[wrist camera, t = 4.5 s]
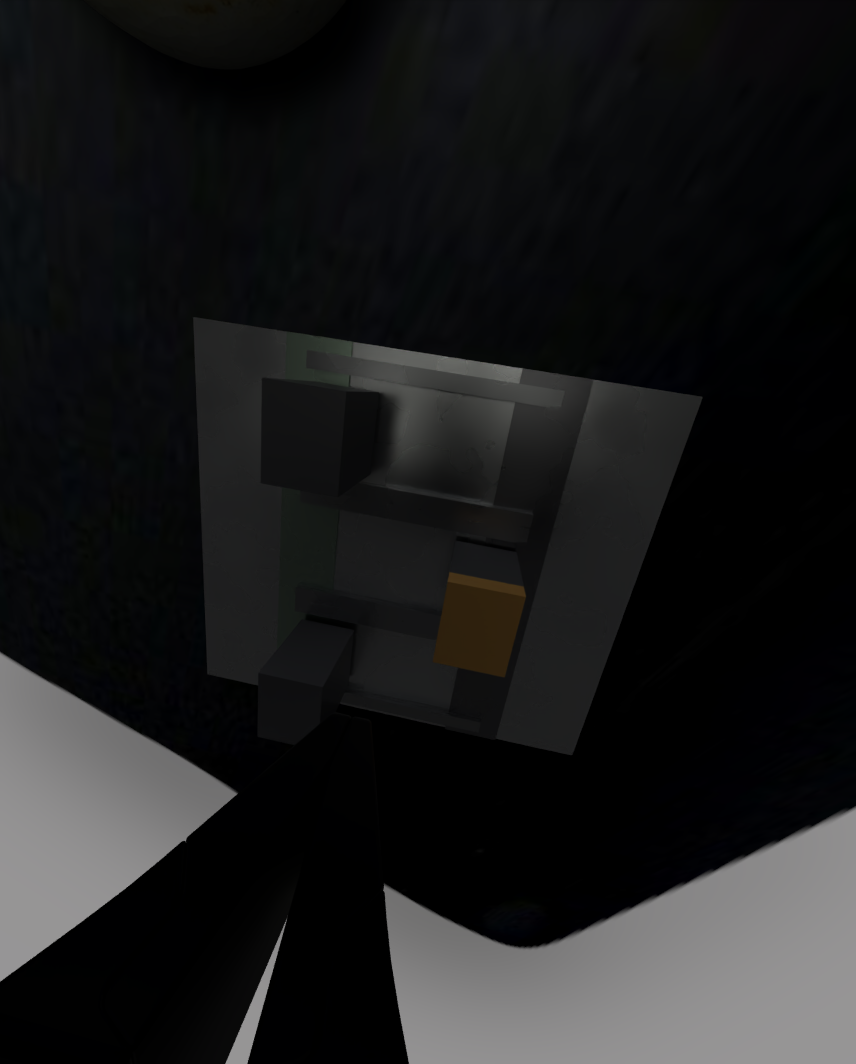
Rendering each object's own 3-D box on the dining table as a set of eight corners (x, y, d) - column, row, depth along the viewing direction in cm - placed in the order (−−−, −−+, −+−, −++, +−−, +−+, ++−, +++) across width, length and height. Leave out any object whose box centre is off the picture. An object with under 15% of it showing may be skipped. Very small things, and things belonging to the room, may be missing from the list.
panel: (688, 397, 14) (709, 397, 13) (567, 738, 20) (573, 762, 18) (210, 321, 16) (185, 315, 14) (219, 661, 21) (202, 679, 20)
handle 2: (354, 630, 18) (322, 686, 14) (348, 684, 19) (317, 750, 15) (301, 619, 18) (258, 673, 14) (298, 673, 19) (257, 736, 16)
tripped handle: (516, 552, 16) (525, 597, 12) (500, 618, 17) (504, 677, 13) (455, 540, 16) (447, 581, 12) (442, 607, 17) (432, 662, 13)
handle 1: (379, 392, 14) (346, 391, 11) (370, 474, 15) (337, 497, 12) (314, 381, 15) (261, 377, 11) (310, 463, 16) (260, 483, 12)
